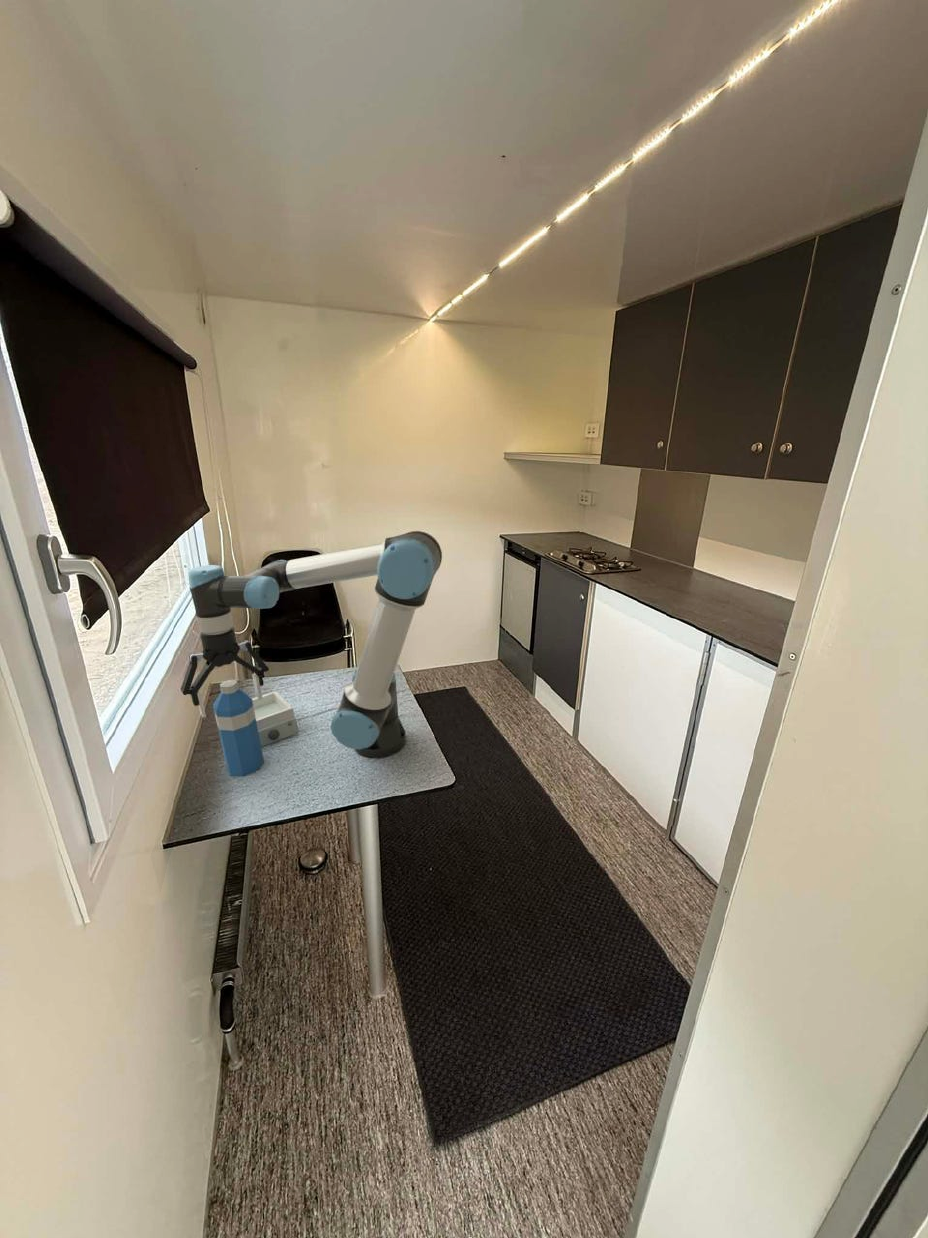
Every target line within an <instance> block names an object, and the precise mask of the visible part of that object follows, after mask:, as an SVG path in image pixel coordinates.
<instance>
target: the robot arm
mask: <svg viewBox="0 0 928 1238" xmlns="http://www.w3.org/2000/svg"><path fill="white" fill-rule="evenodd" d="M442 559H443V551H442V549H441V546H440V544H439V542H438V541H437V539H436V538H435V537H434V536H433V535H431V534H429V532H425V531H419V530H413V531H408V532H406V533H402V534H399V535H395V536H391V537H386V538H384V540H383V541H382V543H376V544H371V545H364V546H359V547H354V548H349V549H344V550H339V551H332V552H328V553H322V554H317V555H316V554H315V555H312V556H305V557H300V558H295V559H294V558H293V559H290V560H285V559H280V560H279V559H277V560H275V561H271V562H270V563H267V564H266V565H264V566H263V567H261V568H258V569H257V570H254V571H252V572H250V573H248V574H246V575H229V574H228V575H227V574H225V571H224V568H223V566H221V565H217V564H207V565H199V566H196V567H193V568H191V569H190V570H189V571H188V573H187V576H188V584H189V590H190V595H191V598H192V602H193V606H194V610H195V616H196V621H197V626H198V631H199V632H200V633H199V636H200V641H201V647H202V652H201V653H194V652H190V653H189V654H188V657H189V658H188V659H189V662H188V663H189V664H188V666H187V669H186V672H185V675H184V678H183V680H182V683H181V687H180V691H181V693H182V694H183V695H184V696H187V695H190V697H191V701H192V704H193V705H194V707H198V709H199V714H200V716H201V717H202V718H203V719H205V718H207V714H206V710H205V705H204V701H203V696H202V693H201V692H200V689H201V688H202V687H203V685H204V684H205V682H206V680H207V678H208V677H209V676H210V674H211V672H213V671H214V669H215V668H216V667H218V668H220V667H223V666H225V665H227V666H228V665H231V664H232V663H233V662H236V663H237V664H239V665H241V666H242V667H243V668H246V669H247V670H249V671H251V672H252V674H251V676H252V680H253V687H254V692H255V698H256V697H257V698H258V699H259V700H260V699H262V691H261V689H262V688H261V687H263V686H264V679H263V676H264V673H265V672H266V673H267V672H268V671H269V670H270V669H269V666H267V664H265V662H264V661H263V660H262V659H261V658H260V656H259V654H258V653H256V652H255V650H254V649H253V646H252V643H251V642H250V641H249V639H248V640H247V639H244V640H243V642H241V643H238V641H237V636H236V632H235V628H234V627H233V626H234V620H233V615H232V610H231V608H235V609H255V610H261V609H262V610H263V609H271V608H273V607H274V606H276V604H277V602H278V601H279V598H280V594H281V593H283V592H288V591H293V590H298V589H302V588H303V589H305V588H310V587H315V586H321V585H326V584H327V585H328V584H332V583H339V582H345V581H349V580H351V581H352V580H356V579H361V578H368V577H374V576H377V579H376V583H375V585H374V586H375V587H374V591H375V594H376V595H377V596H378V601H377V604H376V607H375V611H374V613H373V614H374V615H373V616H372V619H371V623H370V627H369V631H368V634H367V637H366V640H365V644H364V647H363V650H362V653H361V657H360V660H359V663H358V667H357V670H355V671H353V673H352V676H351V677H352V679H351V681H350V682H349V683H348V684H346V686H345V688H344V691H343V694H342V697H341V701H340V704H339V706H338V709H337V711H336V713H335V714H334V715H333V716H332V719H331V722H330V730H331V733H332V736H333V737H334V738H335V739H336V741H337V742H338V743H339V744H340V745H342V746H344V747H346V748H348V749H351V750H354V751H355V752H356V753H357V754H358V755H360V756H363V757H366V758H370V759H371V758H372V759H377V758H378V759H379V758H380V759H381V758H385V757H388V756H392V755H394V754H396V753H398V752H399V751H400V750H402V749H403V748H404V747H405V745H406V742H407V733H406V730H405V727H404V725H403V723H402V721H401V719H400V716H399V705H398V692H397V679H396V678H397V677H396V673H395V671H396V669H397V665H398V661H399V660H400V656H401V653H402V650H403V647H404V644H405V642H406V638H407V635H408V633H409V630H410V627H411V625H412V624H411V623H412V620H413V618H414V615H415V611H416V609H419V608H422V607H423V606H424V605H425V603H426V601H427V597H428V594H429V591H430V589H431V586H432V582H433V580H434V577H435V575H436V573H437V572H438V571H439V569H440V567H441V564H442ZM241 649H242V650H243V651H244V652H245V651H246V653H248V654H249V656H250V657H251V658H253V661H255V662H256V663H257V664H258V666H259V667H257V666H254V665H253V664H252V663H251V662H249V661H247V660H246V659H244V658H242V657H241V656H240V655H238V654H239V652H240V650H241ZM202 659H204V660H205V662H204V664H203V667H202V668H201V670H200V671H199V673H198V675H197V676H196V678H195V679H194V677H195V675H196V672H197V669H198V666H199V665H198V664H199V663H201V660H202ZM193 680H194V681H193Z"/></svg>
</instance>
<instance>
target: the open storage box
mask: <svg viewBox="0 0 928 1238" xmlns="http://www.w3.org/2000/svg"><path fill="white" fill-rule="evenodd" d="M261 695H262V694H261ZM251 699H252V702H253V707H254V712H255V717H256V723H257V728H258V733H259V738H260V744H261V748H262V747H264V746H266V745H269V744H272V743H274V742H278V741H280V740H282V739H285V738H287V737H290V736H293V735H295V734H297V733H299V731H298V725H297V719H296V716H295V713H294V708H293V707H292V705H291V704H289V703H288V701H286V699H285V698H284V697H282V696H281V694H280V693H278V692H277V691H276V690H275V691H272V692H269V693H266V694H263V695H262V699H260V700H259V699H258V698H257V697H256V696H255V697H253V698H251Z"/></svg>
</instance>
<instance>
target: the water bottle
mask: <svg viewBox="0 0 928 1238" xmlns="http://www.w3.org/2000/svg"><path fill="white" fill-rule="evenodd" d="M219 687H220V693H218V694H219V695H218V696H217V697H216V698H215V701H214V703H213V704H212V708H213V712H214V717H215V722H216V726H217V731H218V734H219V739H220V745H221V748H222V753H223V758H224V762H225V766H226V769H227V772H228V774H229V775H230V776H231V777H245V776H247V775H248V776H249V775H250V774H252V773H256V772H257V771H259V770H260V768H261V767H262V766H263V765H264V763H265V761H264V756H263V749H262V747H261V744H260V738H259V733H258V728H257V723H256V717H255V712H254V707H253V702H252V699H253V698H251V697H250V695H249V694H248V693H247V692H245V691H244V690H242V689H241V688H240V687H239V683H238V681H237V680H236V679H228V680H224V681H222V682H221V683H219Z"/></svg>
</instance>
